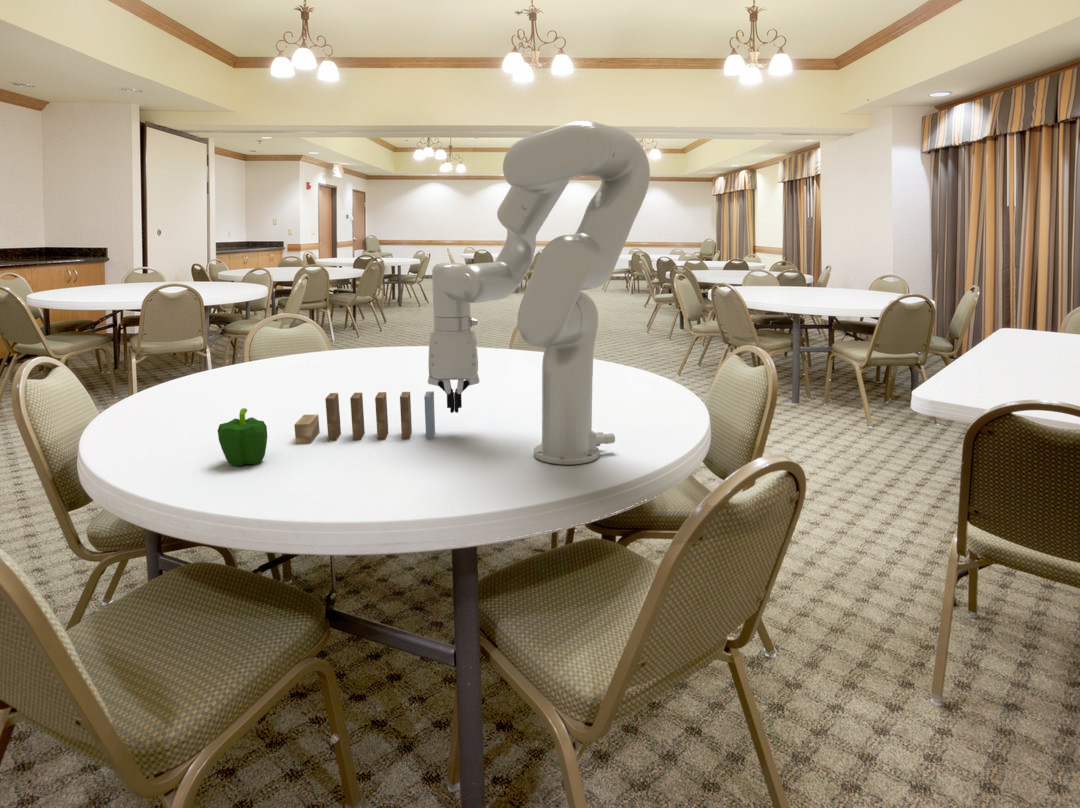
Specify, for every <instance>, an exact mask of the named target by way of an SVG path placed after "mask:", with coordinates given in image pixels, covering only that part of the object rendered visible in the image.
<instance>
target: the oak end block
mask: <svg viewBox="0 0 1080 808" xmlns="http://www.w3.org/2000/svg"><path fill="white" fill-rule="evenodd" d="M319 420H320V419H319V413H318V414H317V413H316V414H303V415H302V416H301V417H300V418H299V419H298V420H297V421H296V422H295V424H294V433H295V434H294V436H295V444H312V443H313V441H314V440H315V439H316V438H317V436H318V435H319V434H320V432H321V431H320V430H321V429H320V421H319ZM315 437H316V438H315Z"/></svg>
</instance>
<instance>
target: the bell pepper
mask: <svg viewBox="0 0 1080 808" xmlns="http://www.w3.org/2000/svg"><path fill="white" fill-rule="evenodd" d="M247 412H248V409H247V407H246V408H245V407H243V408H242V407H241V409H240V410H239V414H238V415H239V418H234V419H232V420H229V421H227V422H223V423H220V424H219V425H218V428H217V435H218V436H217V437H218V438H217V439H218V442H219V445H220V448H221V451H222V453H223V455H224V457H225V460H226V461H227V463H228V464H230V465H231V466H235V467H238V466H239V467H240V466H244V464H245V465H256V464H259V463H261V462H262V461H263V459H264V458H265V456H266V450H267V443H268V428H267V427H268V426H267V424H266V423H265V421H264V420H258V419H256V418H255V417H253V416H252V417H248V418H246V414H247Z"/></svg>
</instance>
